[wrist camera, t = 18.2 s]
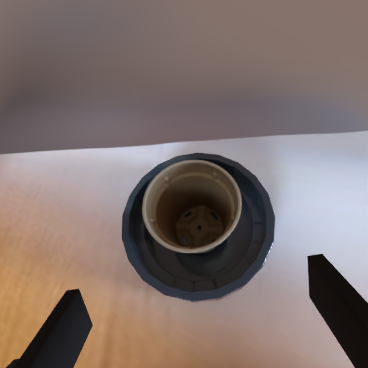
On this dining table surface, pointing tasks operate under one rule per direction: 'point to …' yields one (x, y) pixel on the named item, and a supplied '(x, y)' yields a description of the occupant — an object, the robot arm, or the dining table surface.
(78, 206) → the dining table surface
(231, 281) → the bowl
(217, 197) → the flower pot
